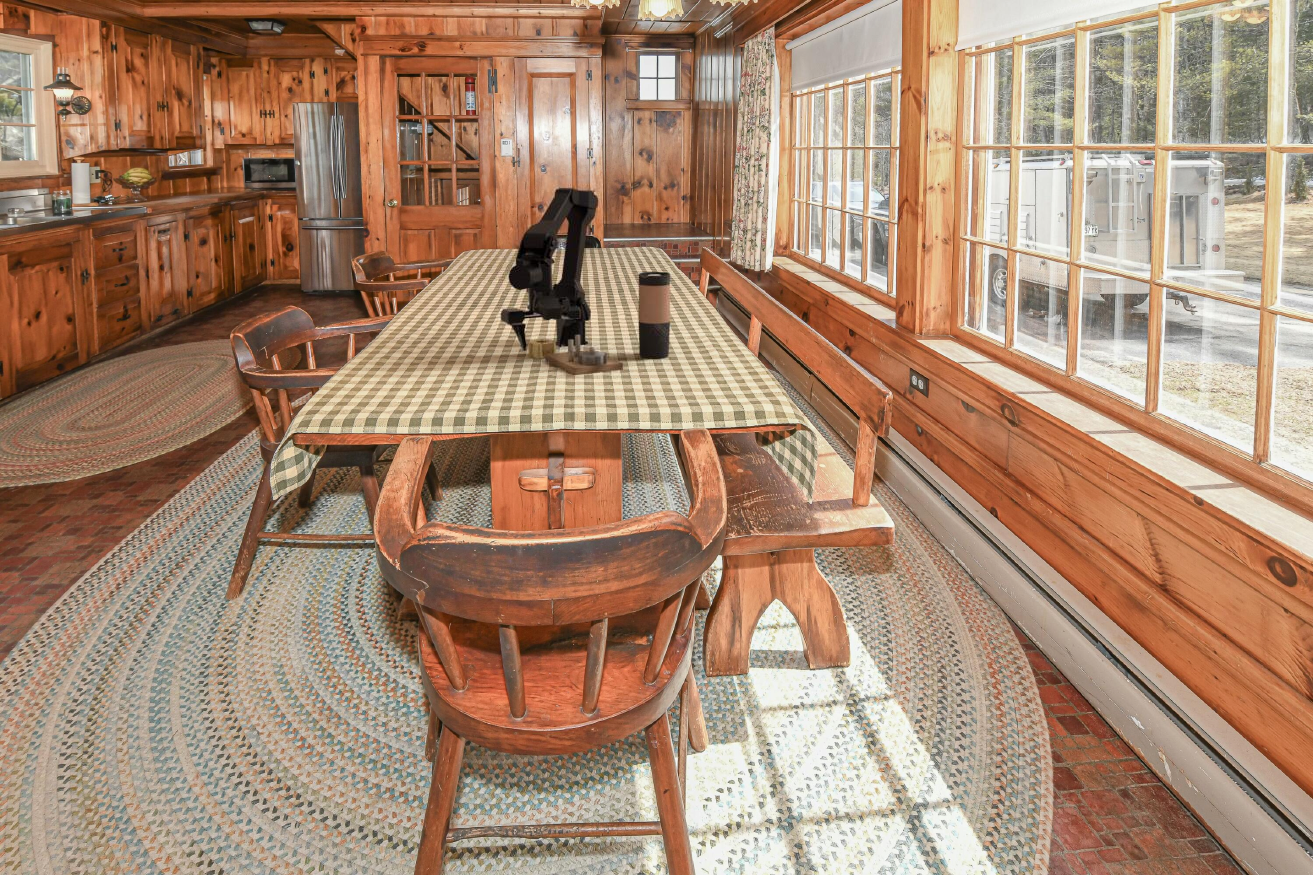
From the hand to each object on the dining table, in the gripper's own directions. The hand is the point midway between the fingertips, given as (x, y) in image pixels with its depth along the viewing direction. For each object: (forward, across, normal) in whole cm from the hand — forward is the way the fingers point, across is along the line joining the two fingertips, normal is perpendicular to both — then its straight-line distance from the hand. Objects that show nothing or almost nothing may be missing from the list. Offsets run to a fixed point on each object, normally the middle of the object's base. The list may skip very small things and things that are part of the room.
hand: (542, 348), depth 233 cm
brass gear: (+2, 0, 0) cm, 2 cm away
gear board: (+2, +4, -14) cm, 15 cm away
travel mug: (+2, +24, -13) cm, 27 cm away
